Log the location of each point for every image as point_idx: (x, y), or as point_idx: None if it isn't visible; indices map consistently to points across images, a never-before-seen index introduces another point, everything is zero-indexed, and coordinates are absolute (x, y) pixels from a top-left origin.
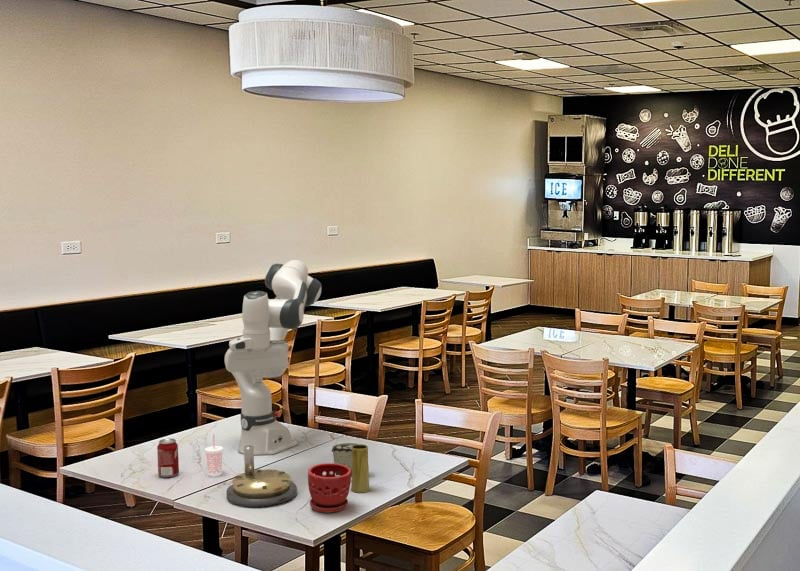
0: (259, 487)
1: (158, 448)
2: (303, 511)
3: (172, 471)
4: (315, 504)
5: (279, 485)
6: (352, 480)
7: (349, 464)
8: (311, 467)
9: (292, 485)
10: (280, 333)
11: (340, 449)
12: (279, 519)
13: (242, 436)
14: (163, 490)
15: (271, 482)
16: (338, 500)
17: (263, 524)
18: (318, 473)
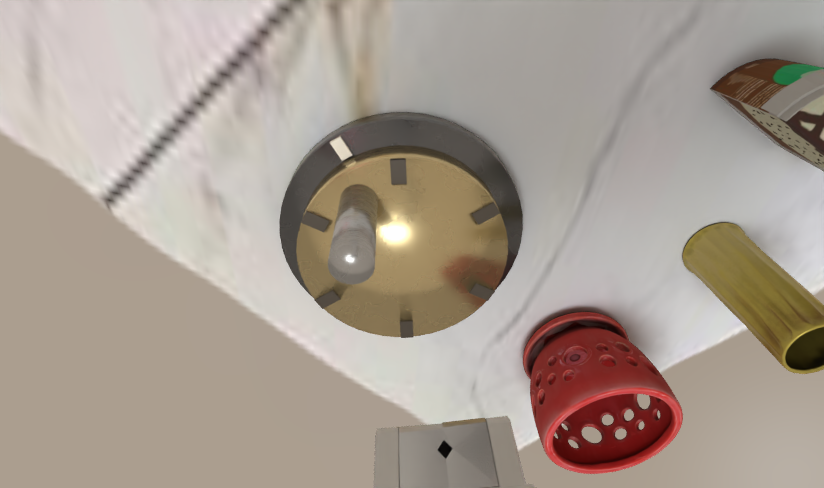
0: (390, 327)
1: None
2: (500, 354)
3: None
4: (538, 349)
5: (455, 323)
6: (703, 277)
7: (783, 137)
8: (565, 416)
9: (509, 230)
10: None
11: (804, 137)
12: (432, 383)
13: None
14: (16, 99)
15: (433, 296)
16: (591, 404)
17: (392, 399)
18: (586, 372)
